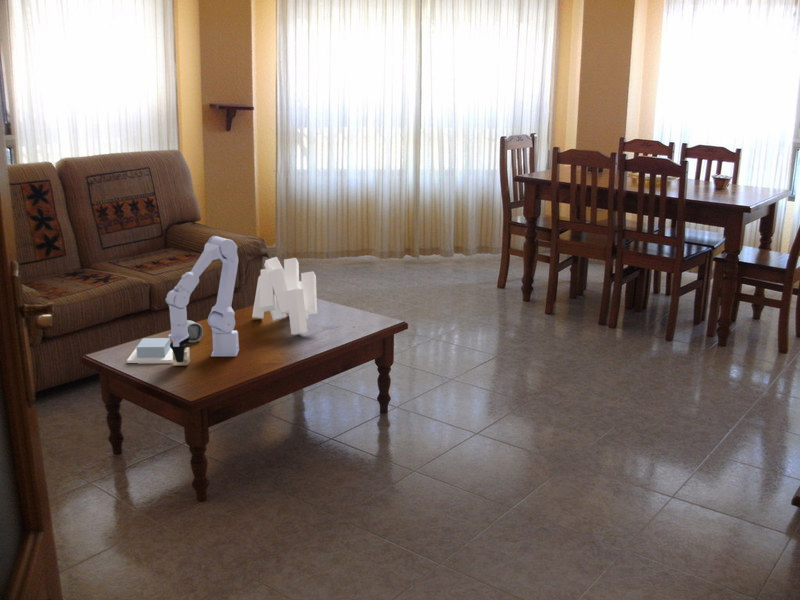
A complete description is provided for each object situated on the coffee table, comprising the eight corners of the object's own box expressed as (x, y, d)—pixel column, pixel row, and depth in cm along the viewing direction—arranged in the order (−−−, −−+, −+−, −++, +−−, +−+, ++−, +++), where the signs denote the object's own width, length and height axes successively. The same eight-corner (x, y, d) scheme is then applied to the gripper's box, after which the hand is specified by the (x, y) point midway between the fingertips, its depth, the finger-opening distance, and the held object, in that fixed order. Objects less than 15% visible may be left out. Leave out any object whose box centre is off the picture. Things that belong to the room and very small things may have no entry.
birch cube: (190, 360, 302) (189, 347, 301) (187, 365, 298) (186, 352, 296) (176, 360, 302) (175, 347, 301) (173, 365, 297) (172, 352, 296)
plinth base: (180, 348, 317) (179, 335, 316) (171, 363, 302) (170, 349, 300) (137, 348, 316) (136, 335, 315) (127, 363, 301) (125, 350, 299)
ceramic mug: (195, 334, 332) (194, 316, 330) (204, 340, 326) (202, 321, 324) (170, 340, 326) (168, 321, 324) (178, 346, 320) (176, 327, 318)
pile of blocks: (340, 340, 344) (342, 258, 352) (291, 329, 320) (294, 242, 328) (278, 347, 364) (281, 269, 371) (227, 337, 340) (231, 255, 347)
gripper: (171, 317, 302) (174, 352, 306) (163, 329, 288) (165, 366, 292) (191, 316, 303) (193, 352, 307) (183, 329, 289) (186, 366, 293)
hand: (181, 359), depth 299 cm, fingers closed on birch cube, 5 cm apart
